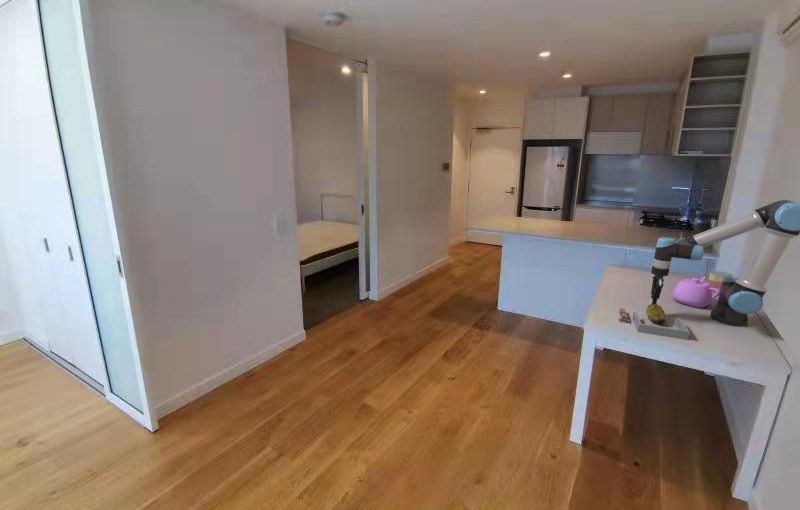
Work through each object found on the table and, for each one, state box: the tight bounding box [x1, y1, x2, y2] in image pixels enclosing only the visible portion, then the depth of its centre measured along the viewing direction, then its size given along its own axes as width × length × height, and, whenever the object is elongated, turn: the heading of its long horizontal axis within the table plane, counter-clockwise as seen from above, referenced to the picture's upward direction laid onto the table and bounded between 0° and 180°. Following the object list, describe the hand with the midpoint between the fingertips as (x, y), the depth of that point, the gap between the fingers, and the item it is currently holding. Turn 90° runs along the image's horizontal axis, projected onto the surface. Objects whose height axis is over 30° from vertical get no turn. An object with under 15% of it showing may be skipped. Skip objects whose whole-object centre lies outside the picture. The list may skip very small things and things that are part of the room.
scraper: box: [618, 307, 631, 324], centre depth 199 cm, size 14×5×2 cm, turn 157°
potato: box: [645, 303, 666, 326], centre depth 194 cm, size 8×13×8 cm, turn 147°
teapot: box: [672, 275, 720, 308], centre depth 218 cm, size 23×21×15 cm
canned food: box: [706, 270, 734, 294], centre depth 237 cm, size 11×11×12 cm
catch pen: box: [632, 311, 691, 341], centre depth 186 cm, size 20×16×4 cm
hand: (652, 308), depth 202 cm, fingers closed
